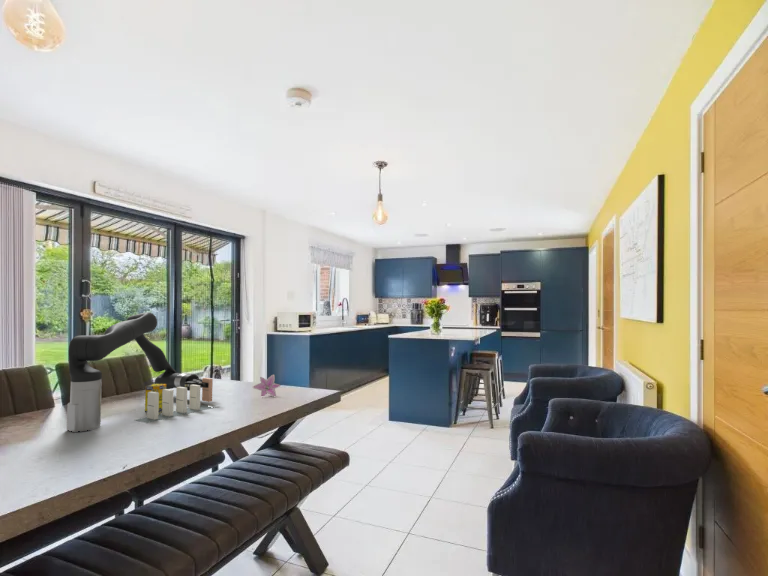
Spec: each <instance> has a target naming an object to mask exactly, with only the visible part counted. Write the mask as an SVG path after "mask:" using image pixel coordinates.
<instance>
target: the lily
mask: <svg viewBox="0 0 768 576" xmlns="http://www.w3.org/2000/svg"><path fill="white" fill-rule="evenodd" d="M275 377H276V376H275V374H271V375H270V376H269V377H267V378H264V377H262V376H260V377H259V381H260V383H257V384H255V385H254V386H252V388H253V389H254V390H257V391H261V392H260V397H261V396H264V397H265V396H267V395H270V396H271V397H273V396H276V397H277V393H276V389H278V388H280V387H281V384H278V383H275V381H276V380H275V379H276V378H275ZM266 394H267V395H266Z"/></svg>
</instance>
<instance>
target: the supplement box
mask: <svg viewBox="0 0 768 576" xmlns="http://www.w3.org/2000/svg"><path fill="white" fill-rule="evenodd" d="M163 389H166V384H155V383H152V384H149V385H145V395H144V396H145V398H144V399H145V401H144V402H145V403H144V412H145V413H147V398H148V392H151V391H152V392H158V393H159V410H158V413H160V412H162V390H163Z"/></svg>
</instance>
